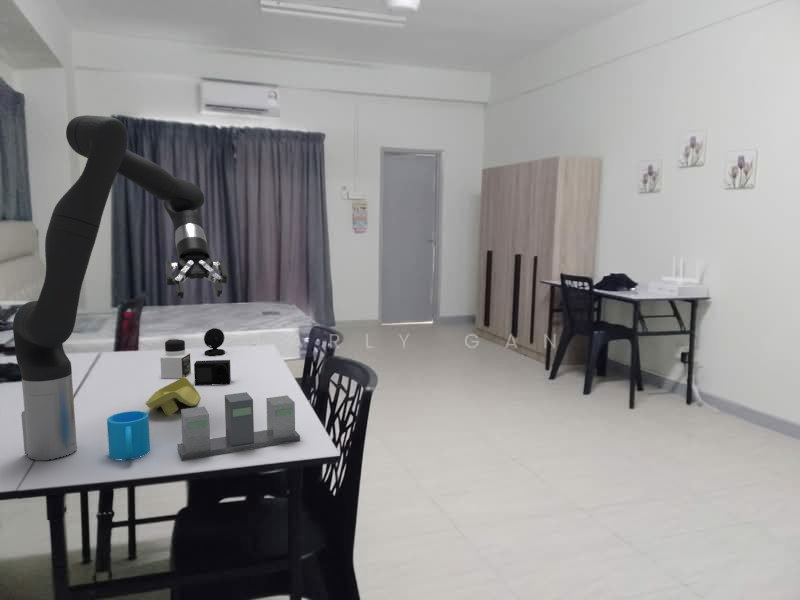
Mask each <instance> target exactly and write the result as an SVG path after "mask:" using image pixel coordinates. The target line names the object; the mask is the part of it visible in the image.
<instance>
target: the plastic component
mask: <svg viewBox="0 0 800 600" xmlns="http://www.w3.org/2000/svg"><path fill="white" fill-rule="evenodd" d="M200 399H201V396H200V393H199V391H198V390H197V389H196V388H195V387H194V385H193V384H192V383H191V381H190V380H189V378H187V377H184V378H181V379H177V380H175V381H173V382H171V383H170V384H168V385H165V386H163V387H162V388H160V389H158V390H156V391H155V392H154V393H153V394H152V395H150V397H149V398H148V399H147V401H145V403H144V404H145V405H146V407H148V408H150V409H152V410H157V409H159V408H161V409H162V410H163V412H164V414H165V415H168V416H170V415H172V414H175V413H176V412H177V411H178V410H179V407H178V405H177V403H176V401H175V400H177V401H179V402H180V403H183V404H184V405H186V406H188V407H194V406H196V405H198V403H199V401H200Z"/></svg>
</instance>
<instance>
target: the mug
mask: <svg viewBox="0 0 800 600" xmlns="http://www.w3.org/2000/svg"><path fill="white" fill-rule="evenodd" d="M149 417H150V415H149V413H148V412H145V411H140V410H129V411H122V412H118V413H114V414H112V415H110V416H109V417H107V418H106V425H107V438H108V439H107V441H108V443H107V444H108V457H109V458H110V457H111V458H113V459H112V460H114V459H122V460H121V461H127V460H126V459H131V460H133V459H132V458H136V459H138V458H137V457H139V458H141V457H140V456H142V457H144V456H146V455H148V454H149V453H150V452H149V451H151V439H150V421H149ZM148 452H149V453H148ZM147 453H148V454H147ZM145 454H146V455H145ZM143 455H144V456H143ZM111 458H110V459H111Z"/></svg>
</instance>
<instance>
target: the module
mask: <svg viewBox="0 0 800 600" xmlns="http://www.w3.org/2000/svg"><path fill="white" fill-rule="evenodd" d="M224 414H225V416H224V417H225V418H224V419H225V420H224V421H225V437H226V438H227V440H228V441H229V443H230V444H231V446H235V445H241V444H247V443H253V442H254V432H255V429H254V428H255V423H254V398H252V396H251V395H250V394H249V393H248V392H247V391H246V392H238V393H237V392H236V393H231V394H224Z"/></svg>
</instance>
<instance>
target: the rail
mask: <svg viewBox="0 0 800 600" xmlns="http://www.w3.org/2000/svg"><path fill="white" fill-rule="evenodd" d="M265 400H266V429H265V430H258V431H254V442H253V443H247V444H241V445H235V446H231V444H230V443H229V441H228V440H227V438H226V436H222V437H220V436H219V437H214V438H211V432H210V431H211V427H210V425H211V424H210V413H209V411H208V410H207V408H206V406H205V405H204V406H197V407H190V408H189V407H187V408H182V409H180V416H181V417H180V418H181V421H180V422H181V437H182V439H181V440H182V441H181V442H182V443H177V451H179V452H178V454H179V456H180V460H181V461H189V460H194V459H199V458H207V457H212V456H218V455H224V454H229V453H235V452H241V451H246V450H251V449H252V450H253V449H260V448H264V447H265V448H266V447H270V446H276V445H281V444H283V445H284V444H288V443H293V442H300V441H301V435H300V433H298V432H297V431H296V411H295V410H296V407H295V406H296V403H295V402H296V401H294V400H293V399H292V398H291V397H289V396H288V395H279V396H272V397H266V399H265Z"/></svg>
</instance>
